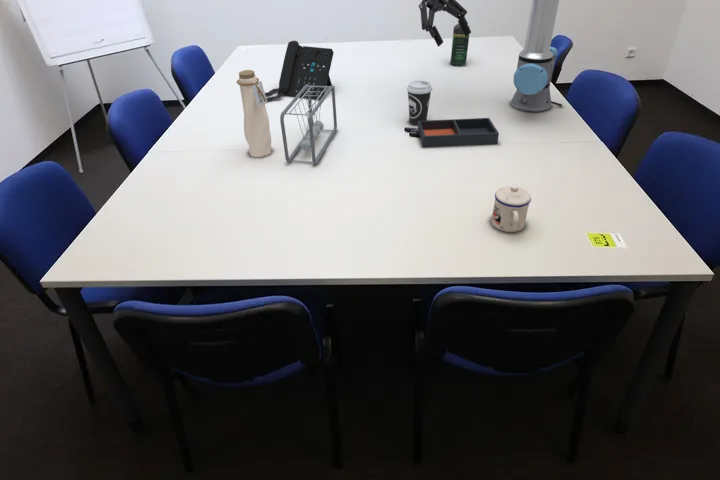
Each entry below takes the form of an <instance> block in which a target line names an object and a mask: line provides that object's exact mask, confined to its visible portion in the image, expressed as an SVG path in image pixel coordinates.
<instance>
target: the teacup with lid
mask: <svg viewBox="0 0 720 480" xmlns="http://www.w3.org/2000/svg"><path fill="white" fill-rule="evenodd" d="M531 202H532V197H531V194H530V193H529V192H528V190H525V189H524V188H522V187H519V186H518V185H516V184H512V185H510V186H509V185H508V186H503V187H500V188H498V189H497V190H496V191H495V192H494V204H493V209H492V215H491V224H492V225H493V227H495V229H497V230H499V231H502V232H506V233H515V232H519V231H521V230H522V229H523V228H524V227H525V224H526V220H527V215H528V210H529V205H530V204H531Z"/></svg>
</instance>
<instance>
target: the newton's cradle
mask: <svg viewBox="0 0 720 480" xmlns="http://www.w3.org/2000/svg"><path fill="white" fill-rule="evenodd" d="M311 87H325V89H324V90H323V92H324V91H325V94H324V95H323V97H322V93H323V92H322V93H321V94H320V95H319V97H320V96H321V100H319V97H318V98H317V99H315V100H314V102H312V101H313V100H312V98H311V95H310V92H313V91H310V89H311ZM306 89H307V92H306V93H307V95H306V93H305V94H304V95H303V96H302V97H300V96H301V95H302V93H303V92H304V91H305V90H306ZM326 89H327V90H326ZM330 93H331V101H332V116H333V129H324V122H322V121H321V120H318V119H320V117H321V113H319V115H318V116H317V114H316V113H317V112H318V111H319V110H318V109H321V108H322V107H321V106H322V104H323V103H324V101H325V100H326V98H327V97H328V96H329V95H330ZM304 96H305V97H306V96H308V98H304ZM299 98H300V99H299ZM305 100H306V105H307V108H305V103H304V101H305ZM300 102H302V106H303V107H300ZM336 103H337V102H336V90H335V86H334V85H333V84H332V85H331V86H309V85H308V84H306V85H305V86H304V87H303V88H302V89H301V91H300V92H299V93H298V94H297V95H296V96H294V97H293V99H292V100H291V101H290V102H289V103H288V105H287V106H285V108H284V109H283V110H282V111H281V112H280V116H279V123H280V129H281V135H282V143H283V150H284V151H283V152H284V157H285V162H286V163H289V164H290V163H291V162H296V163H297V162H298V163H299V162H300V163H309V164H311V163H312V164H313V165H314V166H315V165H317V164H318V163H319V161H320V159H322V156H323V155H324V153H325V151H326V149H327V148H328V146H329V144H330V143H331V141H332V139H333V137H334V136H335V134H336V132H337V130H338V129H337V128H338V121H337V120H338V119H337V105H336ZM294 104H295V105H294ZM297 106H298V109H299V112H300V113H298V112H297V109H296V108H297ZM290 109H291V110H290ZM301 109H304V112H305V113H302V110H301ZM293 110H294V111H295V113H292V112H293ZM306 110H307V111H306ZM285 115H289V116H290V115H291V116H296V119H297V120H298V125H299V128H300V130H301V134H302V139H301V140H300V141H299V143H298V144H297V146H296V148H295V149H294V150H293V151H292V153H291V155H289V148H288V142H287V134H286V126H285ZM298 116H301V118H302V122H303V125H304V128H305V131H306V133H305V134H304V133H303V129H302V126H301V123H300V120H299V117H298ZM303 116H306V118H307V126H306V124H305V123H306V122H305V121H304V117H303ZM314 117H315V120H314ZM321 131H322V132H331V133H330V135H328V138H327V140H326V142H325V143H324V144H323V146H322V148H321V150H320V152H319V153H318V154H317V156H316V149H315V148H316V147H315V141H316V140H317V139H318V136H319V135H320V134H321ZM300 149H302V150H303V151H309V150H310V151H311V160H312V161H311V160H297V159H294V158H295V156H296V155H297V153H298V152H299V150H300Z"/></svg>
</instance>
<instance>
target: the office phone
mask: <svg viewBox="0 0 720 480" xmlns="http://www.w3.org/2000/svg"><path fill="white" fill-rule="evenodd" d="M333 57H334V50H333V49H332V48H329V47H328V48H327V47H319V46H317V47H316V46H305V45H303V46H302V45H300V43H299V41H297V40H291V41H288V42H287V47H286V50H285V54H284V57H283V63H282V68H281V72H280V75H279V76H280V77H279V80H278V81H279V82H278V88H272V89H270V90H269V91H266V92H265V96H266V99H267V102H268V101H269V102H270V101H274V100H279V99H281V98H282V97H283V96H287V97H288V96H289V97H295V96H296V95H297V94H298V93H299V92H300V91H301V89H302V88H303V87H304V86H305V85H306V84H308V85H309V86H328V87H330V86H331V85H333V83H332V81H331V80H332V79H331V77H330V71H331V67H332V63H333ZM324 89H325V87H311V89H310V91H313V92H310V95H311V100H316V99H317V98H318V97H319V95H320V94H321V93H322V92H323V90H324ZM275 92H277V95H274V96H273V94H275ZM306 92H307V89H306V90H305V91H304V92H303V93H302V95H301V96H300V97H299V98H302V96H303V95H304V94H305V93H306ZM325 93H326V89H325V91H324V92H323V93H322V97H323V95H324V94H325ZM271 95H272V96H271ZM306 95H307V93H306ZM303 99H308V96H306V97H305V96H304V97H303ZM320 100H321V96H320V97H319V101H320Z"/></svg>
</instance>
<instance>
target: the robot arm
mask: <svg viewBox="0 0 720 480" xmlns="http://www.w3.org/2000/svg"><path fill="white" fill-rule="evenodd" d="M559 2H560V0H531V5H530V11H529V17H528V25H527V30H526V36H525V44H524V48H523V49H522V50H521V51H519V53H518V60H517V65H516V70H515V72H514V74H513V85H514V88H515V89H516V91H515V92H514V94H513V96H512V98H511V106H512V107H513V108H515V109H517V110H520V111H522V112H528V113H540V112H545V111H547V110H549V109H550V108H551V106H552V105H555V106H558V107H562V106H563V104H562V103H559V102H556V101H553V100H552V97H551V88H550V87H551V83H552V78H553V73H554V69H555V64H556V59H557V57H558V49H557V48H556V47H554V46H552V45H551V44H552V39H553V34H554V28H555V25H556V24H555V23H556V19H557V14H558V8H559ZM418 8H419V11H420V23H421V30H422V31H425V32H429V34H430V37H431V38H433V39H434V41H435V44H436V45H437V47H441V45H443V43H444V40H443V37H442V36H441V34H440V32H439V30H438V28H437V26H436V25H434V21H435V20H434V19H435V14H436V13H438V12H441V11H443V12H446V13H448V14H449V15H451V16H453V17H454V18H456V19H457V24H458V23H459V25H460V27H461V29H462V31H463V33H464V34H465V36H466V37H467V36H468V35H469V36H470V34H471V33H472V31H471V28H470V29H469V27H470V26H469V22H468V21H467V19H466V17H465V16H466V15H467V14H468V10H466V9H465V8H464V7H463V6H462V5H461V4H460V3H459V2H458V1H457V0H421V2H420V3H419V5H418ZM468 26H469V27H468Z"/></svg>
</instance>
